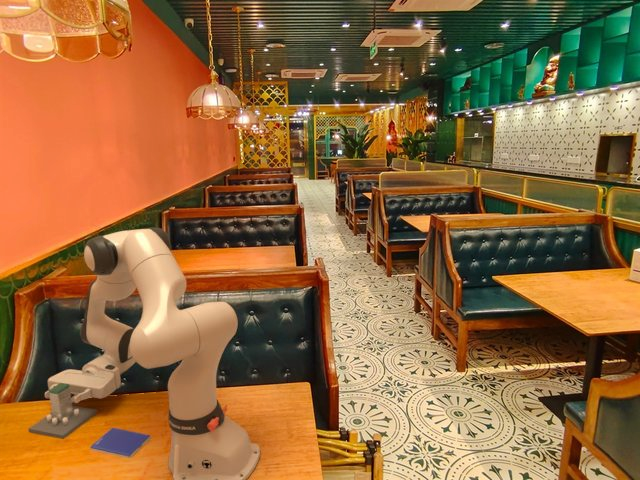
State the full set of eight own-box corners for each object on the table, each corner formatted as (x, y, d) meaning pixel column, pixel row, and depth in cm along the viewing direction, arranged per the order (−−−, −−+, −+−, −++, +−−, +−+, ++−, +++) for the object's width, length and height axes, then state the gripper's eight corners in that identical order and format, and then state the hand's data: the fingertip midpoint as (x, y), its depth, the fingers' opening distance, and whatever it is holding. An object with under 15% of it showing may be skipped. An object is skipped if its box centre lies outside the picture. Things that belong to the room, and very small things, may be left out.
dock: (97, 412, 126) (96, 403, 126) (63, 438, 115) (62, 428, 114) (64, 407, 130) (63, 398, 129) (28, 431, 118) (27, 422, 118)
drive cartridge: (73, 415, 124) (69, 384, 122) (62, 423, 120) (57, 391, 118) (65, 414, 124) (60, 382, 122) (53, 422, 121) (48, 390, 119)
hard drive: (89, 446, 110) (129, 455, 107) (113, 426, 118) (150, 434, 114) (90, 451, 111) (130, 460, 107) (113, 431, 118) (151, 439, 115)
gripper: (68, 361, 136) (29, 383, 123) (122, 368, 130) (87, 392, 117) (71, 379, 137) (32, 403, 124) (125, 387, 132) (90, 413, 119)
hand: (60, 398), depth 121 cm, fingers open, 8 cm apart
